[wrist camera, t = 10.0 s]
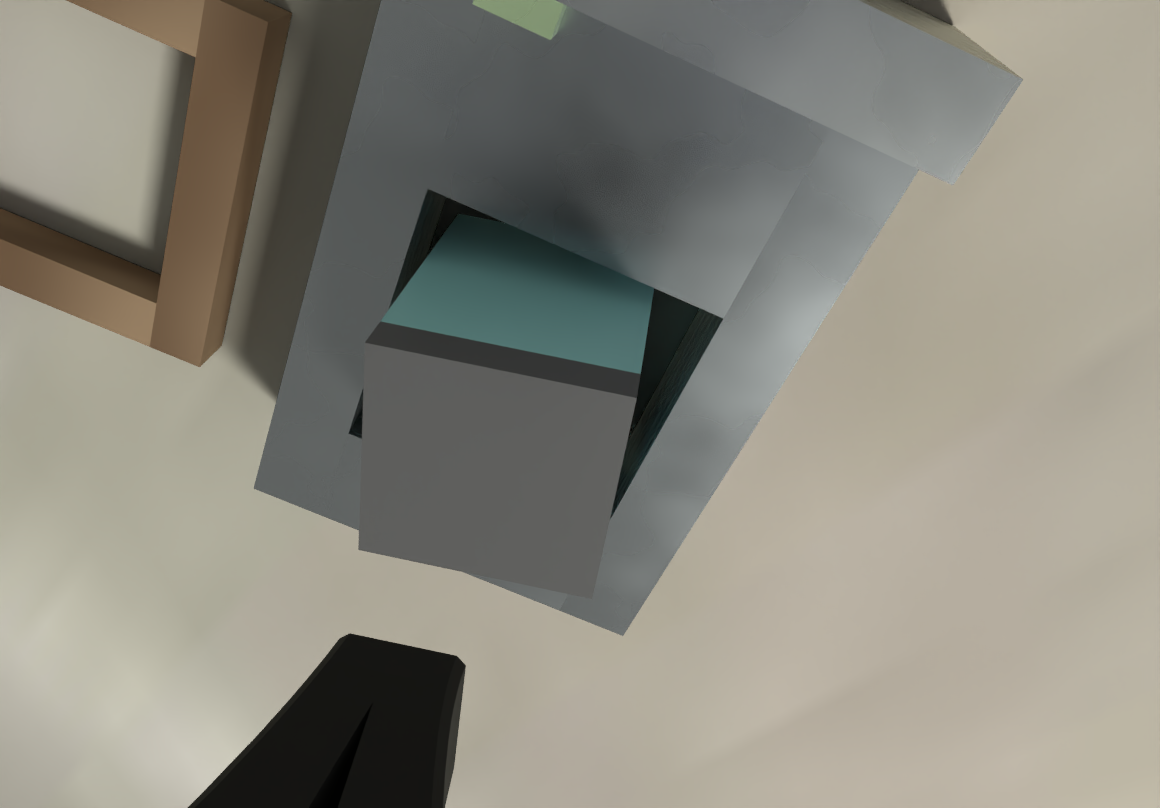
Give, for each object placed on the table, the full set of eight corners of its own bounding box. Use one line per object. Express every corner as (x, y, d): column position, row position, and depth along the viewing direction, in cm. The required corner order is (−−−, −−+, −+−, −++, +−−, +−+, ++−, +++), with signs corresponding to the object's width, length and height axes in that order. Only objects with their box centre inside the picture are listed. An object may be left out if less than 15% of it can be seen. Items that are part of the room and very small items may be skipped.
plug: (659, 252, 18) (636, 397, 13) (623, 422, 20) (592, 598, 15) (458, 213, 18) (364, 343, 13) (443, 386, 20) (358, 549, 15)
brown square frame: (291, 12, 16) (268, 22, 15) (221, 345, 20) (200, 367, 19) (-120, -173, 15) (-168, -174, 15) (-110, 208, 19) (-147, 224, 19)
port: (955, 26, 15) (1023, 79, 11) (632, 562, 22) (615, 694, 18) (478, -204, 14) (400, -221, 11) (299, 426, 21) (217, 537, 18)
